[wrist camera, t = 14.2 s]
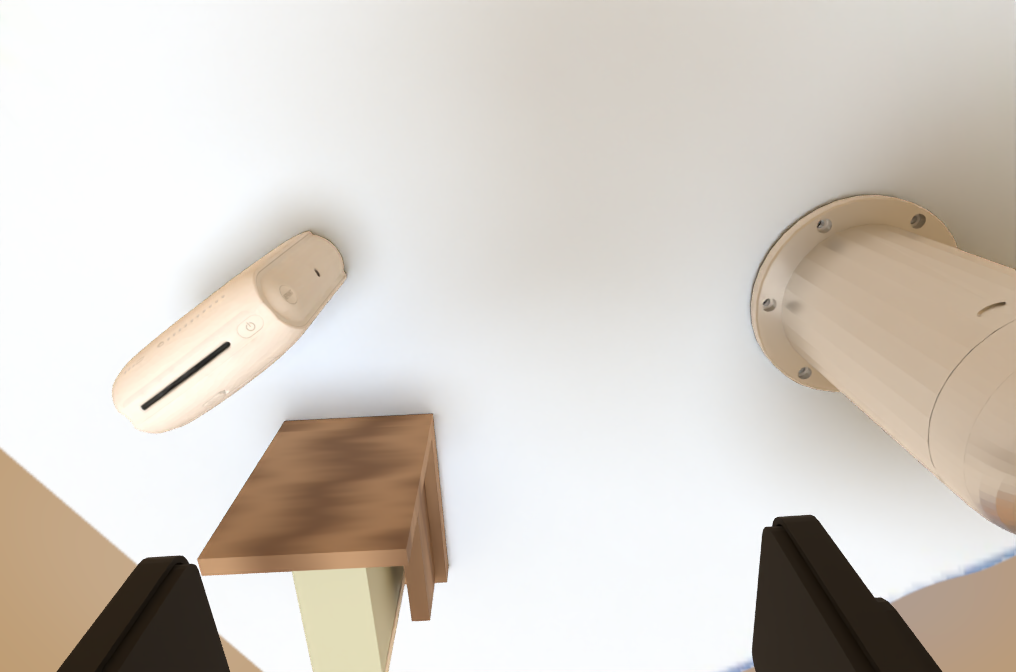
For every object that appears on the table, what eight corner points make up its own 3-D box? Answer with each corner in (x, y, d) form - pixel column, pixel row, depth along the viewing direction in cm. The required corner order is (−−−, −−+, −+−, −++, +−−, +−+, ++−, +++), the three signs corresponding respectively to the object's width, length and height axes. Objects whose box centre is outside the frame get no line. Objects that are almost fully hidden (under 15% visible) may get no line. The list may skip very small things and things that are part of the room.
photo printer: (314, 216, 38) (235, 273, 27) (361, 272, 40) (305, 350, 28) (191, 312, 40) (68, 402, 29) (239, 362, 42) (141, 468, 30)
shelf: (432, 413, 43) (406, 548, 31) (448, 567, 48) (431, 739, 35) (284, 421, 43) (197, 559, 31) (314, 574, 48) (250, 748, 35)
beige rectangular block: (390, 459, 43) (363, 551, 34) (405, 579, 46) (385, 688, 38) (328, 462, 43) (287, 554, 34) (348, 581, 46) (316, 691, 38)
